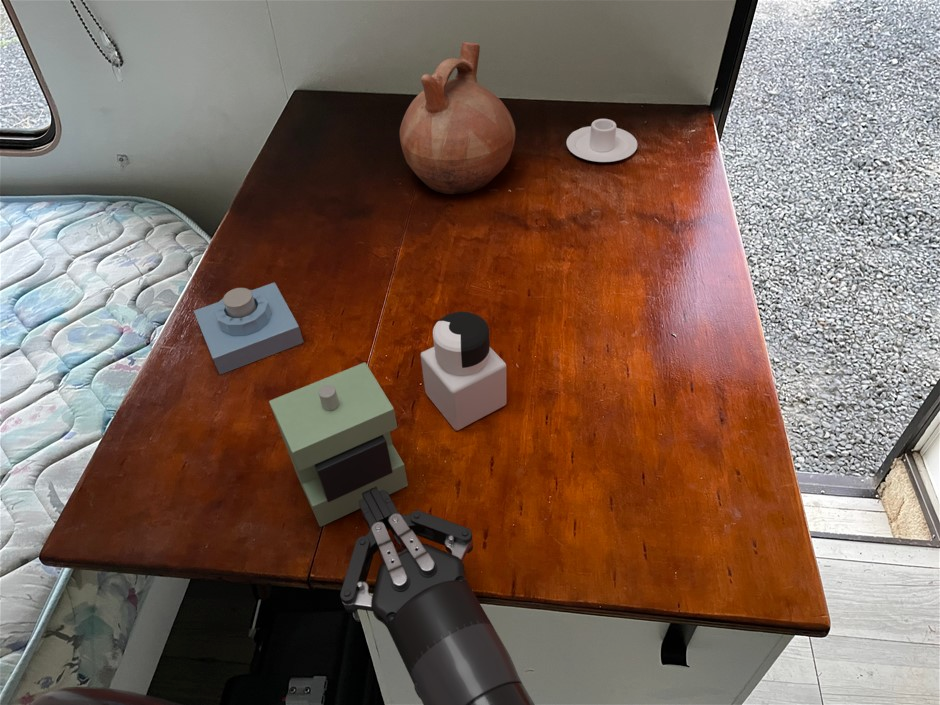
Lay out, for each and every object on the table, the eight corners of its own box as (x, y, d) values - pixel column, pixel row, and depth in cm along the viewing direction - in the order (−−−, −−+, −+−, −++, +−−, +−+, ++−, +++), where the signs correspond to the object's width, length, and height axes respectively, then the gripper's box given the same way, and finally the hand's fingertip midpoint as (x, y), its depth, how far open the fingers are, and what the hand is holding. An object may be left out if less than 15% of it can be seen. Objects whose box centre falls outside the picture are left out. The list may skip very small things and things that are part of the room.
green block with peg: (320, 527, 73) (287, 439, 62) (297, 477, 77) (263, 386, 66) (408, 486, 76) (391, 394, 65) (382, 440, 80) (362, 347, 69)
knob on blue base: (219, 375, 88) (207, 347, 84) (200, 327, 94) (188, 299, 91) (303, 342, 91) (295, 314, 88) (279, 298, 98) (271, 270, 94)
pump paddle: (328, 502, 70) (317, 471, 66) (324, 495, 70) (313, 463, 66) (393, 472, 72) (386, 440, 68) (389, 465, 72) (382, 433, 68)
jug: (477, 220, 108) (472, 95, 94) (382, 189, 115) (364, 68, 101) (534, 163, 119) (537, 43, 105) (444, 137, 126) (435, 22, 112)
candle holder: (564, 130, 126) (565, 107, 123) (632, 128, 125) (635, 105, 122) (568, 166, 118) (569, 142, 115) (641, 165, 117) (644, 141, 114)
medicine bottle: (474, 368, 87) (470, 295, 78) (507, 405, 83) (507, 332, 74) (424, 393, 85) (414, 320, 76) (455, 433, 80) (449, 360, 72)
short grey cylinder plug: (231, 322, 88) (227, 310, 86) (224, 305, 90) (219, 293, 89) (259, 312, 89) (255, 300, 87) (251, 296, 91) (247, 283, 90)
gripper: (527, 595, 55) (429, 441, 66) (371, 683, 51) (294, 503, 62) (526, 635, 61) (435, 486, 71) (385, 716, 57) (311, 546, 67)
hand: (369, 494), depth 67 cm, fingers closed
